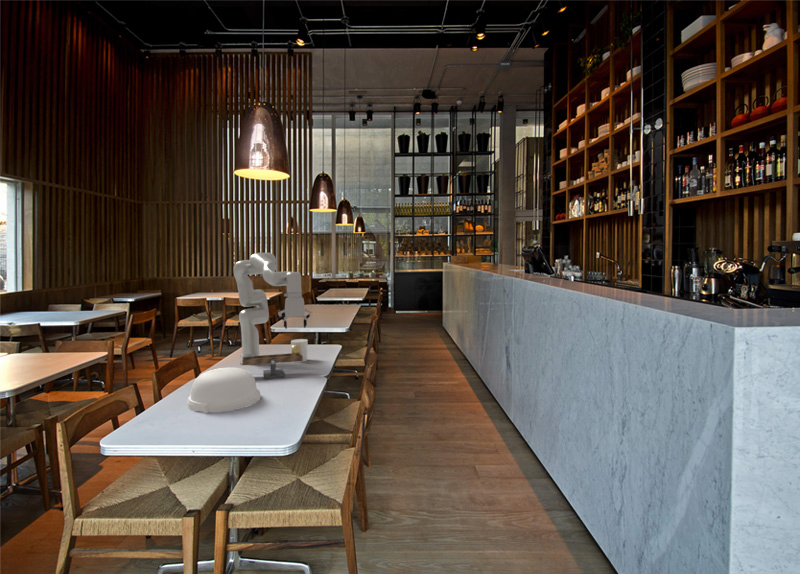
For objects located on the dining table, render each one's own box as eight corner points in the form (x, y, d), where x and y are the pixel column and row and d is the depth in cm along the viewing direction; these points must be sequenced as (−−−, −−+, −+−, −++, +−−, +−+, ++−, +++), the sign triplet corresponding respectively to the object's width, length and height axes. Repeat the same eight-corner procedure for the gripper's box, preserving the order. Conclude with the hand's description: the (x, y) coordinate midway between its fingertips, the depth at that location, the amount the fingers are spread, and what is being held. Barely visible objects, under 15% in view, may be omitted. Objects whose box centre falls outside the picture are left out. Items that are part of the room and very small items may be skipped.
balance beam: (242, 365, 245) (242, 357, 245) (243, 362, 253) (242, 354, 253) (302, 360, 253) (302, 353, 253) (301, 357, 261) (301, 350, 261)
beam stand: (263, 379, 245) (262, 361, 244) (263, 372, 260) (262, 355, 259) (283, 377, 248) (283, 359, 247) (282, 370, 262) (281, 354, 262)
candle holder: (306, 362, 282) (305, 342, 281) (289, 362, 282) (288, 342, 281) (309, 358, 292) (309, 339, 291) (293, 358, 292) (292, 339, 291)
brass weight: (295, 358, 253) (295, 346, 253) (289, 356, 256) (289, 345, 256) (303, 356, 257) (303, 345, 257) (297, 355, 260) (297, 344, 260)
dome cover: (239, 415, 192) (238, 380, 191) (170, 412, 196) (168, 378, 195) (272, 391, 224) (271, 361, 223) (212, 390, 228) (210, 361, 227)
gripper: (277, 296, 248) (278, 329, 249) (311, 295, 253) (312, 327, 254) (277, 295, 255) (278, 327, 257) (310, 294, 260) (311, 325, 261)
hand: (295, 327), depth 255 cm, fingers open, 9 cm apart
